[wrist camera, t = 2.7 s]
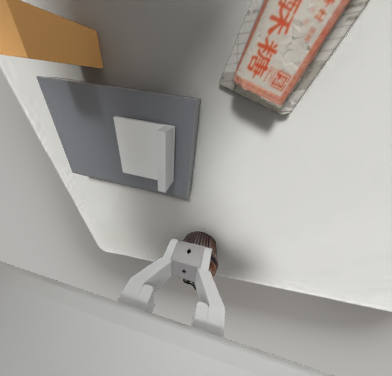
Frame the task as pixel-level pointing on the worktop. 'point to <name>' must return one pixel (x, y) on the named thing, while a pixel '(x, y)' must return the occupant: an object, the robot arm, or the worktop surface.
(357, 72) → the worktop surface
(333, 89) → the worktop surface
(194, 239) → the cupcake
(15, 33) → the orange block
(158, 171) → the shutter
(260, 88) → the packaged product
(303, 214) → the worktop surface
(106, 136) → the socket plate
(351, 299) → the worktop surface
